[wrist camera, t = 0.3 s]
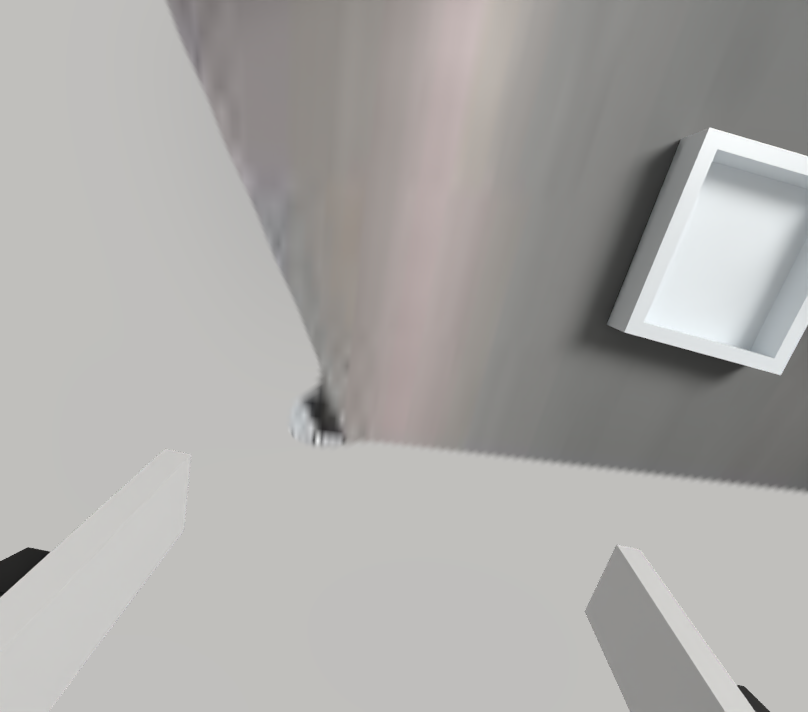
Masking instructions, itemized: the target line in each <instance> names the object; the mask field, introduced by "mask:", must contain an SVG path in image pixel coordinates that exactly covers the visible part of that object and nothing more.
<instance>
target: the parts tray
mask: <svg viewBox="0 0 808 712" xmlns="http://www.w3.org/2000/svg"><path fill="white" fill-rule="evenodd" d="M606 325H608V326H611V327H613V328H615V329H618V330H620V331H622V332H625V333H628V334H632V335H636V336H639V337H643V338H647V339H650V340H654V341H658V342H661V343H665V344H669V345H672V346H676V347H680V348H683V349H687V350H691V351H694V352H698V353H702V354H705V355H709V356H713V357H716V358H720V359H724V360H727V361H731V362H735V363H738V364H742V365H745V366H749V367H753V368H756V369H760V370H764V371H767V372H771V373H775V374H778V375H781V374H782V372H783V370H784V368H785V366H786V365H787V363H788V361H789V359H790V357H791V355H792V353H793V351H794V349H795V348H796V346H797V344H798V342H799V340H800V338H801V336H802V334H803V333H804V331H805V329H806V327H807V325H808V156H805V155H802V154H798V153H795V152H791V151H788V150H785V149H781V148H778V147H774V146H771V145H767V144H764V143H761V142H757V141H754V140H750V139H747V138H744V137H740V136H737V135H733V134H730V133H727V132H723V131H720V130H716V129H713V128H707V129H705V130H702V131H700V132H697V133H695V134H692V135H690V136H687V137H685V138H682V139H681V140H680V143H679V145H678V147H677V150H676V152H675V155H674V157H673V160H672V162H671V165H670V167H669V170H668V172H667V175H666V177H665V180H664V182H663V185H662V187H661V190H660V192H659V195H658V197H657V200H656V202H655V205H654V207H653V210H652V212H651V215H650V217H649V220H648V222H647V225H646V227H645V230H644V232H643V235H642V237H641V240H640V242H639V245H638V247H637V250H636V252H635V255H634V257H633V260H632V262H631V265H630V267H629V270H628V272H627V275H626V277H625V280H624V282H623V284H622V287H621V289H620V292H619V294H618V297H617V299H616V302H615V304H614V307H613V309H612V312H611V314H610V317H609V319H608V322H607V324H606Z"/></svg>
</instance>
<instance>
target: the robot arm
mask: <svg viewBox="0 0 808 712" xmlns="http://www.w3.org/2000/svg"><path fill="white" fill-rule="evenodd" d="M190 463H191V454H188V453H184V452H179V451H174V450H170V449H164V450H163V451H162V452H161V453H159V455H157V456H156V457H155V458H154V459H153V460H152V461H151V462H150V463H149V464H147V466H145V467H144V468H143V469H142V470H141V471H140V472H139V473H138V474H136V475H135V476H134V477H133V478H132V479H131V480H130V481H129V482H127V483H126V485H124V486H123V487H122V488H121V489H120V490H119V491H118V492H117V493H115V494H114V495H113V496H112V497H111V498H110V499H109V500H108V501H107V502H105V503H104V504H103V505H102V506H101V507H100V508H99V509H98V510H97V511H96V512H94V513H93V514H92V515H91V516H90V517H89V518H88V519H87V520H85V521H84V522H83V523H82V524H81V525H80V526H79V527H78V528H77V529H76V530H74V532H72V533H71V534H70V535H69V536H68V537H67V538H66V539H64V540H63V541H62V542H61V543H60V544H59V545H58V546H57V547H56V548H55V549H53V550H52V551H51V552H48V551H44V550H39V549H34V548H26V549H24V550H22V551H20V552H18V553H16V554H14V555H12V556H10V557H8V558H6V559H4V560H2V561H0V712H49V711H50V710H51V708H52V707H53V706H54V704H55V703H56V701H57V700H58V699H59V697H60V696H61V695H62V693H63V692H64V691H65V689H66V688H67V686H68V685H69V684H70V683H71V681H72V680H73V679H74V677H75V676H76V675H77V673H78V672H79V671H80V669H81V668H82V667H83V665H84V664H85V663H86V661H87V660H88V658H89V657H90V656H91V654H92V653H93V652H94V650H95V649H96V648H97V646H98V645H99V644H100V642H101V641H102V640H103V638H104V637H105V636H106V634H107V633H108V632H109V630H110V629H111V628H112V626H113V625H114V624H115V622H116V621H117V619H118V618H119V617H120V616H121V614H122V613H123V612H124V610H125V609H126V608H127V606H128V605H129V604H130V602H131V601H132V599H133V598H134V597H135V595H136V594H137V593H138V591H139V590H140V589H141V587H142V586H143V585H144V583H145V582H146V581H147V579H148V578H149V577H150V575H151V574H152V573H153V571H154V570H155V569H156V567H157V566H158V564H159V563H160V562H161V560H162V559H163V558H164V556H165V555H166V554H167V553H168V551H169V550H170V548H171V547H172V546H173V544H174V543H175V542H176V540H177V539H178V538H179V536H180V535H181V534H182V532H183V531H184V525H185V515H186V504H187V494H188V482H189V473H190ZM585 613H586V615H587V617H588V620H589V622H590V624H591V626H592V628H593V631H594V632H595V635H596V637H597V639H598V642H599V644H600V646H601V648H602V650H603V652H604V655H605V657H606V659H607V661H608V664H609V666H610V668H611V670H612V673H613V675H614V677H615V679H616V681H617V684H618V686H619V688H620V690H621V692H622V694H623V697H624V699H625V701H626V704H627V706H628V708H629V710H630V712H770V711H769V710H768V709H766V707H765V706H764V705H763V704H762V703H760V701H758V699H757V698H755V697H754V696H753V694H752V693H750V692H749V691H748V690H747V689H746V688H745V687H744V686H740V685H736V684H735V682H734V681H733V680H732V678H731V677H730V675H729V674H728V672H727V671H726V670H725V668H724V667H723V666H722V664H721V663H720V661H719V660H718V658H717V657H716V656H715V654H714V653H713V651H712V650H711V649H710V647H709V646H708V644H707V643H706V642H705V640H704V639H703V637H702V636H701V634H700V633H699V632H698V630H697V629H696V627H695V626H694V625H693V623H692V622H691V620H690V619H689V618H688V616H687V615H686V613H685V612H684V610H683V609H682V608H681V606H680V605H679V603H678V602H677V601H676V599H675V598H674V596H673V595H672V594H671V592H670V591H669V589H668V588H667V587H666V585H665V584H664V582H663V581H662V580H661V578H660V577H659V575H658V574H657V573H656V571H655V570H654V568H653V567H652V566H651V564H650V563H649V561H648V560H647V558H646V557H645V556H644V554H643V553H642V551H641V550H640V549H636V548H631V547H626V546H622V545H616V547H615V549H614V551H613V553H612V555H611V558H610V560H609V562H608V564H607V566H606V568H605V570H604V572H603V574H602V576H601V579H600V581H599V583H598V585H597V587H596V589H595V591H594V593H593V595H592V598H591V600H590V602H589V604H588V606H587V608H586V610H585Z"/></svg>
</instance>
